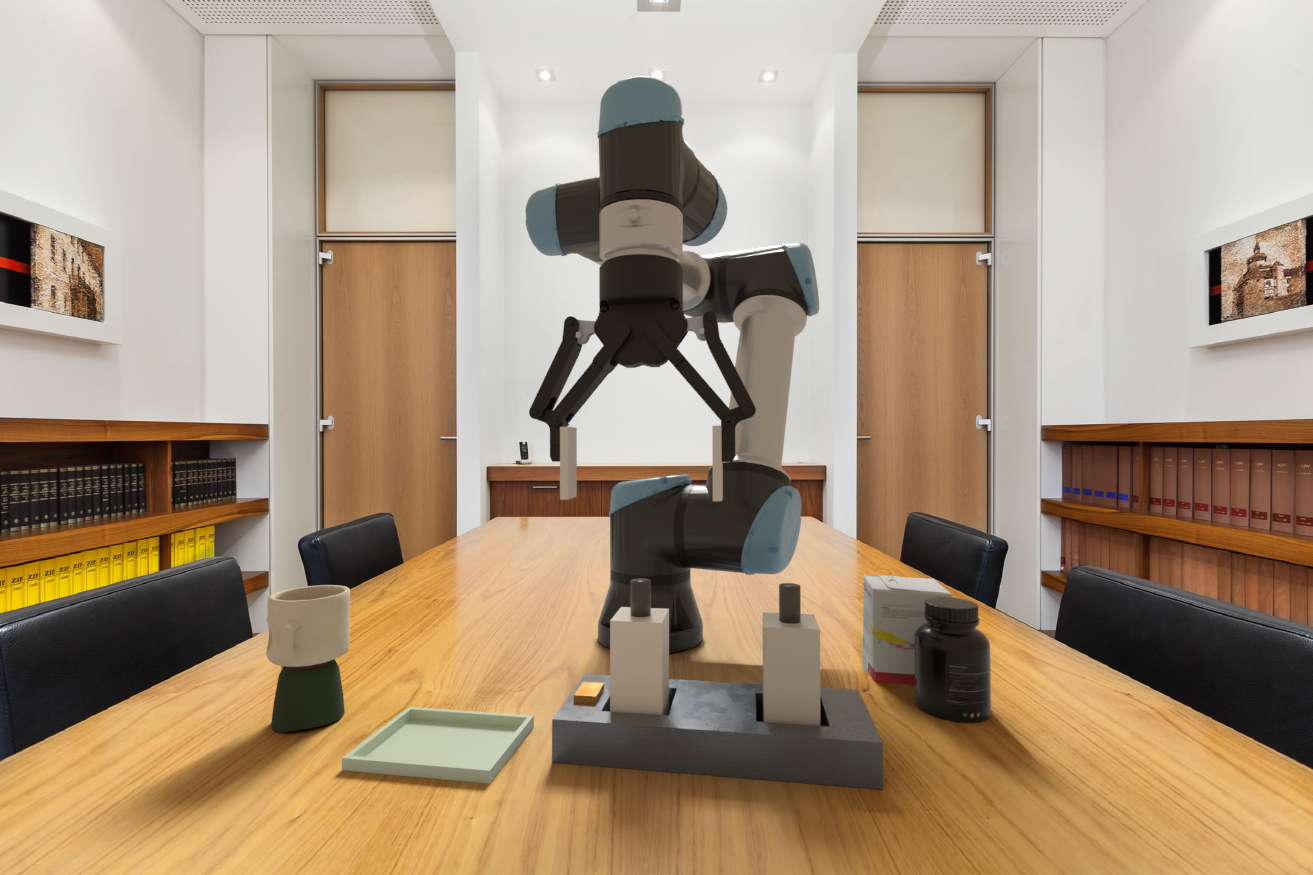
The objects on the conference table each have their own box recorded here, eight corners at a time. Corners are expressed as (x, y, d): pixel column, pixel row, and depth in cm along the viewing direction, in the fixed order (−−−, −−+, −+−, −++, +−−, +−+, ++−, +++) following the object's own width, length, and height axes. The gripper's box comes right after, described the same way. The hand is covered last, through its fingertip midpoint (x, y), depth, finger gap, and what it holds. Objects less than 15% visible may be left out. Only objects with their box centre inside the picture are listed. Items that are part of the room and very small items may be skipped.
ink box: (955, 701, 65) (954, 591, 65) (871, 695, 66) (871, 587, 67) (934, 672, 73) (934, 575, 73) (861, 667, 75) (860, 572, 75)
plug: (620, 725, 56) (621, 574, 56) (669, 729, 55) (668, 576, 55) (610, 749, 51) (610, 585, 51) (662, 753, 50) (662, 587, 51)
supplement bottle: (902, 709, 63) (901, 594, 63) (964, 706, 63) (963, 592, 63) (938, 741, 56) (937, 611, 56) (1007, 738, 56) (1006, 610, 57)
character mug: (294, 703, 64) (295, 581, 64) (364, 699, 65) (365, 579, 65) (239, 755, 53) (241, 608, 53) (326, 749, 54) (327, 605, 54)
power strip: (584, 724, 59) (584, 667, 59) (858, 744, 55) (858, 683, 55) (552, 780, 49) (552, 711, 49) (883, 809, 45) (882, 734, 45)
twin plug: (762, 735, 54) (762, 578, 54) (814, 739, 53) (813, 580, 53) (764, 761, 49) (763, 590, 49) (820, 765, 49) (819, 592, 49)
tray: (409, 721, 60) (409, 706, 60) (533, 731, 58) (533, 715, 58) (341, 776, 50) (342, 758, 50) (489, 789, 48) (489, 770, 48)
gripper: (492, 257, 52) (492, 501, 52) (784, 242, 48) (786, 504, 48) (524, 280, 59) (524, 494, 59) (779, 268, 56) (781, 496, 55)
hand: (641, 499), depth 54 cm, fingers open, 13 cm apart
